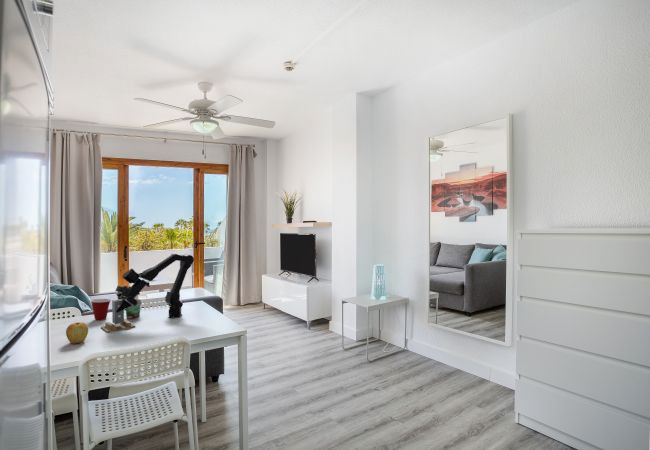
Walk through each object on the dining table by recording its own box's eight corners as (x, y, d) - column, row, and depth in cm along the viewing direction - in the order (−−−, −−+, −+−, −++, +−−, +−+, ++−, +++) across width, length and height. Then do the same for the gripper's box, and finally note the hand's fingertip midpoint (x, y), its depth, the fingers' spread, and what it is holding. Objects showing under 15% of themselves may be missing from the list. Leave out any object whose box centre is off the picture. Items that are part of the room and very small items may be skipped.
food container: (135, 320, 223) (135, 303, 223) (125, 320, 223) (124, 303, 223) (145, 314, 235) (145, 299, 235) (136, 314, 235) (135, 299, 235)
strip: (121, 320, 210) (120, 298, 210) (124, 322, 207) (123, 299, 207) (112, 322, 207) (112, 299, 207) (115, 324, 204) (114, 300, 204)
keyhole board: (127, 323, 216) (127, 318, 216) (135, 327, 208) (135, 321, 208) (100, 328, 206) (100, 322, 206) (107, 332, 198) (107, 327, 198)
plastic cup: (114, 318, 226) (114, 299, 226) (95, 322, 217) (95, 302, 217) (106, 315, 232) (106, 296, 232) (87, 319, 224) (87, 299, 224)
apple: (84, 338, 189) (84, 318, 189) (91, 342, 183) (90, 321, 183) (63, 343, 182) (63, 322, 182) (69, 347, 176) (69, 326, 176)
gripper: (119, 278, 216) (98, 300, 208) (131, 281, 203) (109, 305, 195) (134, 289, 222) (114, 311, 214) (146, 294, 209) (125, 317, 201)
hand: (115, 311), depth 206 cm, fingers closed on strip, 4 cm apart
